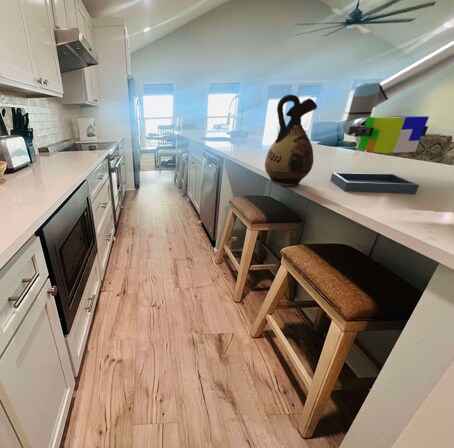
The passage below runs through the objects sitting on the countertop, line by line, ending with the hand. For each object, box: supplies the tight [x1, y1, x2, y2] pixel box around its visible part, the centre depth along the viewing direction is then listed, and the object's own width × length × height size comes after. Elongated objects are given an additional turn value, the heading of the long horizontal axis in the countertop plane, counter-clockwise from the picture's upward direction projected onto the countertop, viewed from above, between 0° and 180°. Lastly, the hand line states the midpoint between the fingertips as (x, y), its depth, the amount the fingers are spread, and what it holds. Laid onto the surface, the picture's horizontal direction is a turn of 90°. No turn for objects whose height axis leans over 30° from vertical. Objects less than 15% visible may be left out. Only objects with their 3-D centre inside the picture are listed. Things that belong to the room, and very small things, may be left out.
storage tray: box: [330, 172, 420, 195], centre depth 82 cm, size 19×15×3 cm
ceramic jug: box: [259, 94, 318, 187], centre depth 85 cm, size 17×15×30 cm
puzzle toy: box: [357, 115, 430, 154], centre depth 77 cm, size 10×10×10 cm
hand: (397, 131), depth 74 cm, fingers closed on puzzle toy, 12 cm apart
